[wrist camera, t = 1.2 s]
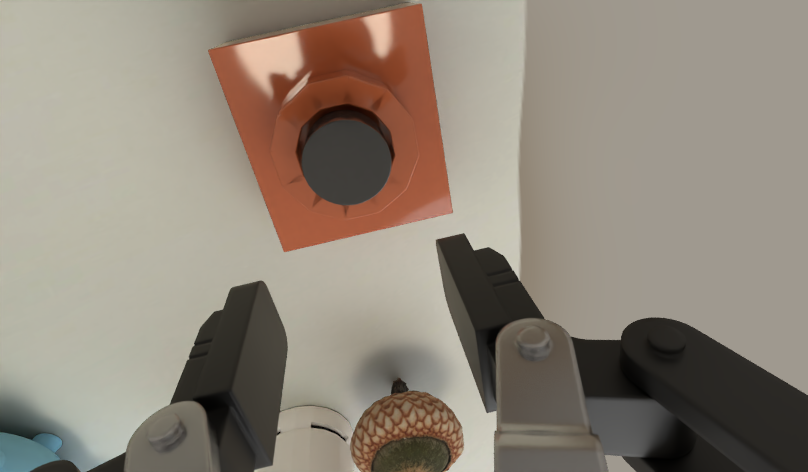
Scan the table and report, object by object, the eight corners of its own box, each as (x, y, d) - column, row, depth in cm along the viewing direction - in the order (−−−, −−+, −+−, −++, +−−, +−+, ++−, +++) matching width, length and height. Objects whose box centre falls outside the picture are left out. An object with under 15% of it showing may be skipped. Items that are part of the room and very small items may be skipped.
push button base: (225, 41, 24) (195, 55, 18) (409, 2, 24) (430, 4, 19) (289, 221, 29) (280, 271, 24) (438, 187, 29) (461, 228, 24)
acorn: (364, 336, 34) (375, 451, 26) (461, 353, 37) (500, 464, 28) (336, 410, 38) (337, 534, 29) (426, 421, 40) (452, 540, 31)
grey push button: (293, 119, 21) (289, 131, 19) (377, 100, 21) (381, 110, 19) (317, 196, 23) (315, 214, 21) (394, 179, 23) (399, 195, 21)
